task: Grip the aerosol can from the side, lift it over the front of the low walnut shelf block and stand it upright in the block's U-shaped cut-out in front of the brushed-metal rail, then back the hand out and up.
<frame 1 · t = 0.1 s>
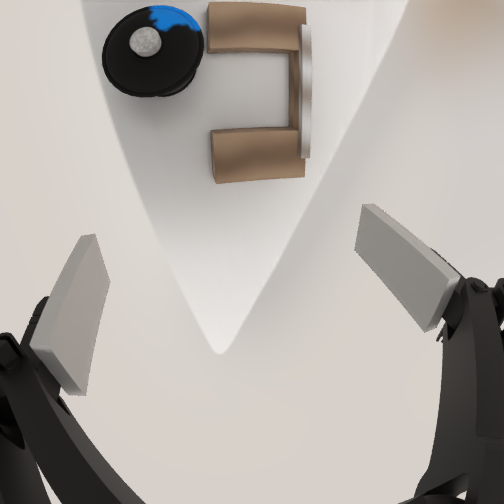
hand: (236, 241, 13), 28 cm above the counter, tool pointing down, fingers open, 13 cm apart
aerosol can: (165, 67, 30), on the counter
cutout stand: (253, 89, 34), on the counter
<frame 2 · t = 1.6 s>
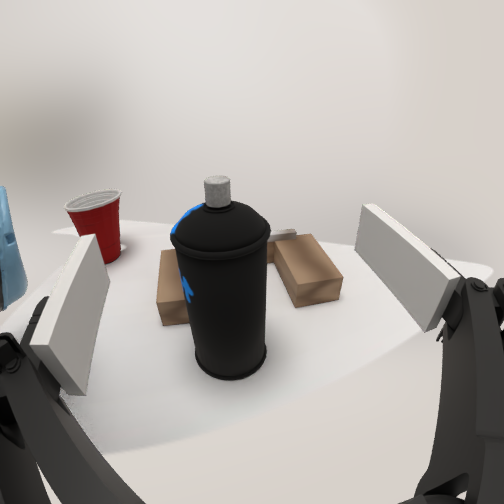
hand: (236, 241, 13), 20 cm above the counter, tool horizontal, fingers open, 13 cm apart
aerosol can: (230, 352, 32), on the counter
plastic cup: (107, 256, 49), on the counter
cutout stand: (246, 285, 42), on the counter
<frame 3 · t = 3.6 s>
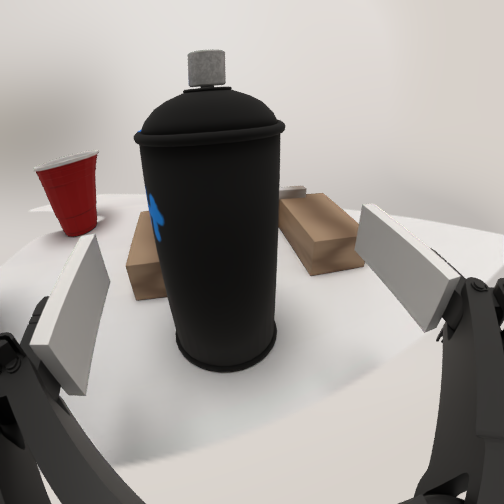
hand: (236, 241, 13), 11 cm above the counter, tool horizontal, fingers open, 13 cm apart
aerosol can: (226, 333, 23), on the counter
plastic cup: (82, 228, 40), on the counter
cutout stand: (245, 252, 33), on the counter
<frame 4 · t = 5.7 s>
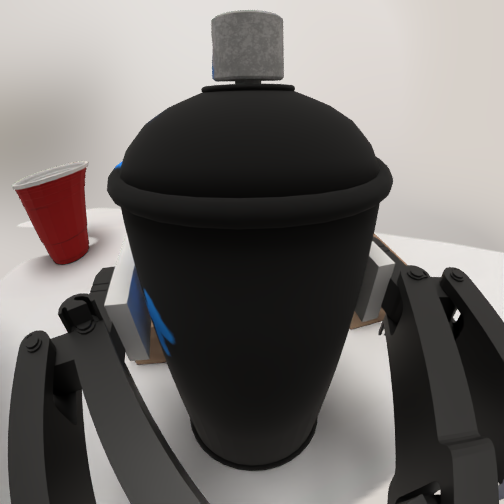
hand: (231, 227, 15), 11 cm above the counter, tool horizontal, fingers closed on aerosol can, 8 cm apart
aerosol can: (253, 416, 17), on the counter, touching gripper
plastic cup: (72, 253, 34), on the counter
cutout stand: (269, 295, 27), on the counter
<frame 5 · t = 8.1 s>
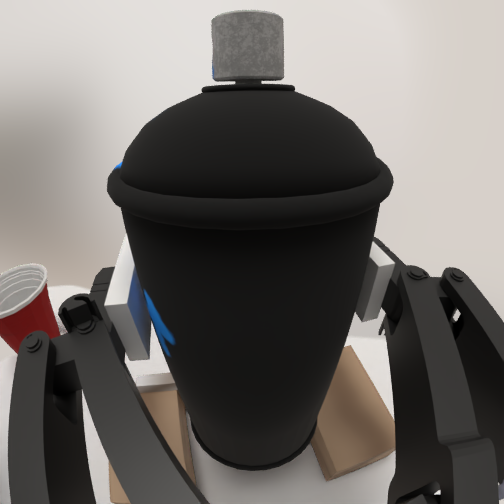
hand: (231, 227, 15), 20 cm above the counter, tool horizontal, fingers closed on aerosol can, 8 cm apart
aerosol can: (254, 416, 17), point 9 cm above the counter, touching gripper
plastic cup: (50, 356, 29), on the counter
cutout stand: (249, 443, 22), on the counter
when the fingers open (12 cm above the counter, at t = 10.4 s): aerosol can drops 1 cm, on the counter.
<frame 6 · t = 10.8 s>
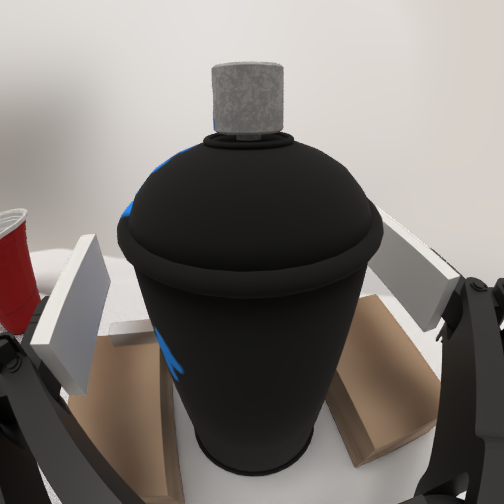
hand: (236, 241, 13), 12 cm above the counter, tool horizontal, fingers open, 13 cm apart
aerosol can: (254, 425, 17), on the counter
plastic cup: (26, 317, 25), on the counter
cutout stand: (252, 417, 18), on the counter
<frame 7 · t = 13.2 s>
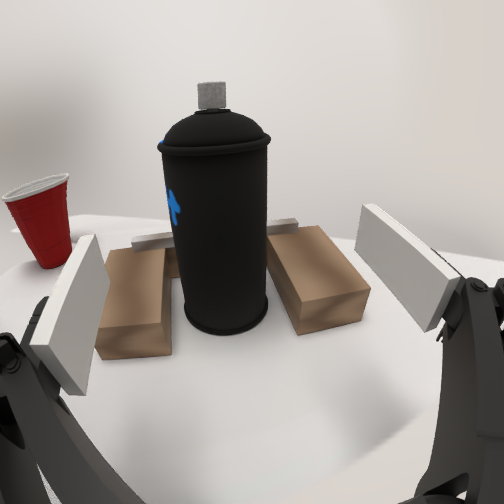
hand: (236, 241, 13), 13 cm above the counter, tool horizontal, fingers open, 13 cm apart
aerosol can: (226, 306, 28), on the counter
plastic cup: (57, 258, 36), on the counter
cutout stand: (225, 300, 28), on the counter
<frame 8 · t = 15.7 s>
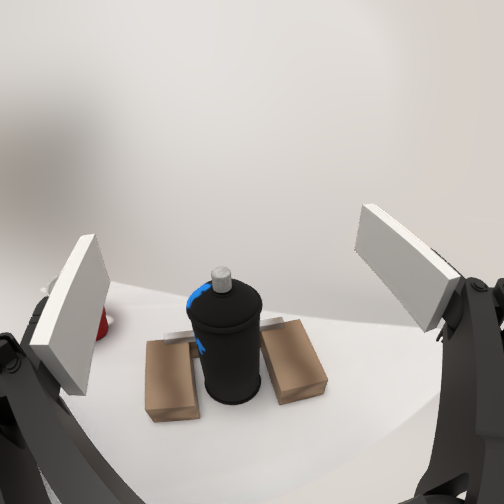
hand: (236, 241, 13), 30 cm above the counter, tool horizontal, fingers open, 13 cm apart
aerosol can: (232, 382, 39), on the counter
plastic cup: (95, 330, 47), on the counter
cutout stand: (232, 378, 39), on the counter
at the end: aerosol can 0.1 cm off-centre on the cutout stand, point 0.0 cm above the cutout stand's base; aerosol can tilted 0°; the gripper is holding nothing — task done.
